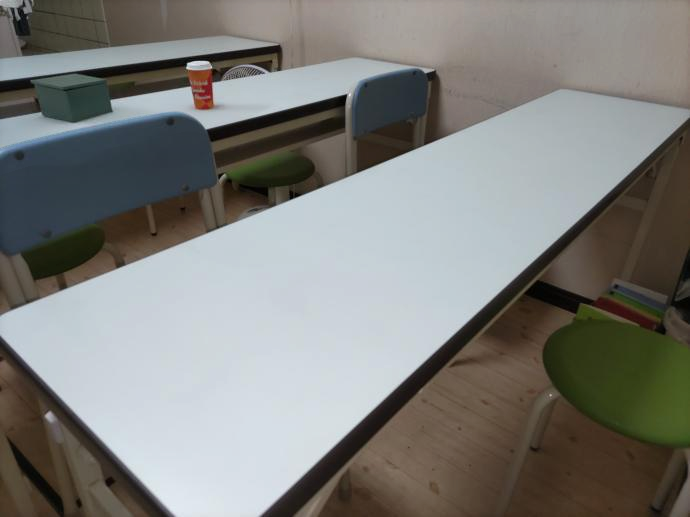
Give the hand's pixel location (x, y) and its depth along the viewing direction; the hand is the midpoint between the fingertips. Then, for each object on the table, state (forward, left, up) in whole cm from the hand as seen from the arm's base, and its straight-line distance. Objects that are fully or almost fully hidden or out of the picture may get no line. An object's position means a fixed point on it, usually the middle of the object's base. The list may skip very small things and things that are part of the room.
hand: (23, 35), depth 139 cm
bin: (+6, -7, -22) cm, 23 cm away
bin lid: (+6, -7, -13) cm, 15 cm away
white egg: (+6, -6, -21) cm, 23 cm away
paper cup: (+31, -34, -22) cm, 51 cm away
